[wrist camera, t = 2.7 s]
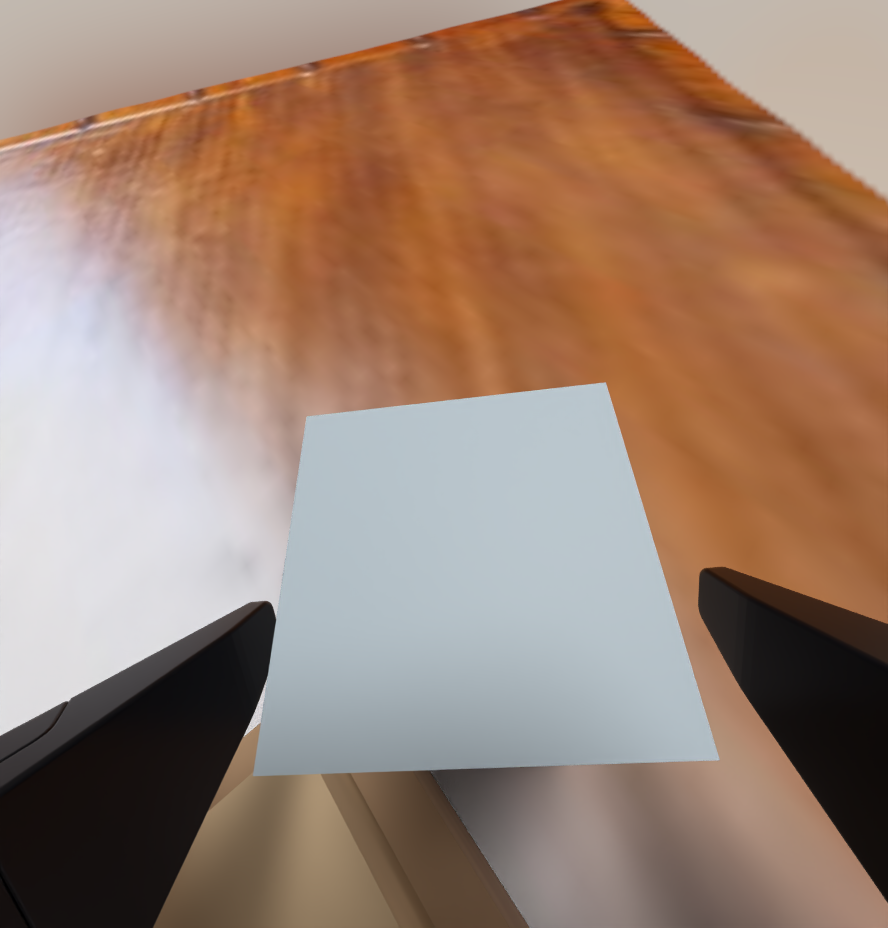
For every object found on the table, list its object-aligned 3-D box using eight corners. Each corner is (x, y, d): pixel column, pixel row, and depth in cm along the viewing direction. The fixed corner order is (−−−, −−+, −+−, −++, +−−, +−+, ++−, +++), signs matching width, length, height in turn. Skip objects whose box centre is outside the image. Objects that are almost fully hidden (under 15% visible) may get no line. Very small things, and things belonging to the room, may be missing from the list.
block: (565, 720, 14) (720, 759, 4) (432, 726, 15) (252, 776, 4) (543, 585, 16) (605, 382, 6) (429, 594, 17) (306, 416, 7)
